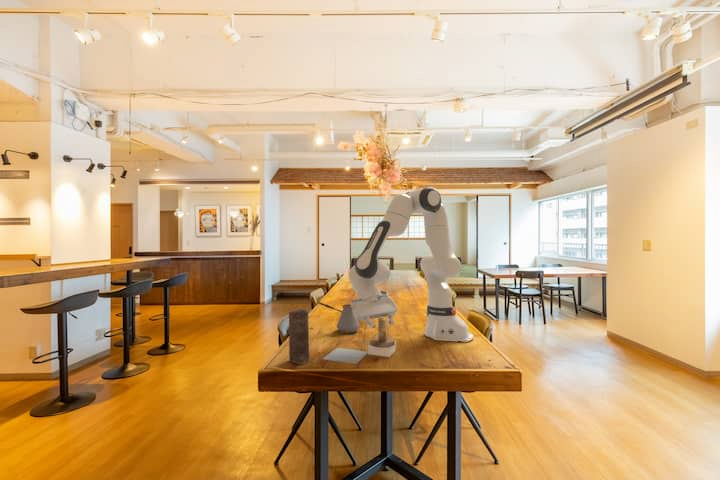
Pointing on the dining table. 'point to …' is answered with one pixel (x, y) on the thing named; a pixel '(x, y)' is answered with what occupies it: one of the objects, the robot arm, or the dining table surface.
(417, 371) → the dining table surface
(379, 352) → the dish
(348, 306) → the coffee pot
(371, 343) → the lid
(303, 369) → the dining table surface
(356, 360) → the mat
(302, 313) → the candle
